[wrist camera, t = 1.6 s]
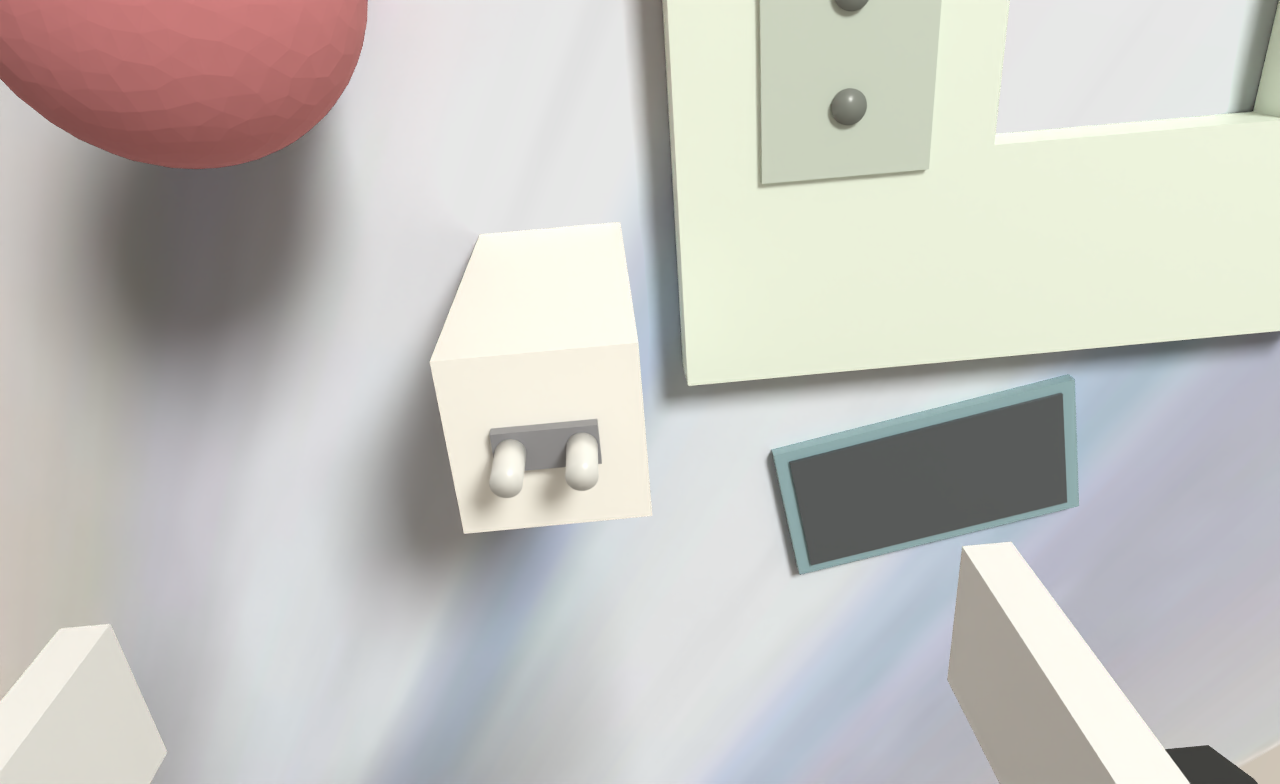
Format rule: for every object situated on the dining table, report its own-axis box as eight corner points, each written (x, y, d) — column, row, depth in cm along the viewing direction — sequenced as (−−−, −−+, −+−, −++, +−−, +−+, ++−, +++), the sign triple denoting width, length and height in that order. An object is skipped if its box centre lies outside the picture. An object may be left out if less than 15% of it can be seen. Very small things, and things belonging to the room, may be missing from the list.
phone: (794, 558, 34) (800, 576, 33) (768, 442, 32) (774, 457, 31) (1065, 491, 34) (1080, 507, 33) (1060, 367, 31) (1076, 380, 30)
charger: (500, 362, 29) (455, 575, 19) (479, 234, 27) (416, 395, 17) (630, 350, 29) (657, 557, 19) (620, 221, 27) (642, 373, 17)
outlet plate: (682, 366, 30) (689, 390, 28) (652, -182, 23) (657, -195, 21) (1302, 308, 30) (1346, 329, 29) (1460, -245, 23) (1532, -263, 21)
